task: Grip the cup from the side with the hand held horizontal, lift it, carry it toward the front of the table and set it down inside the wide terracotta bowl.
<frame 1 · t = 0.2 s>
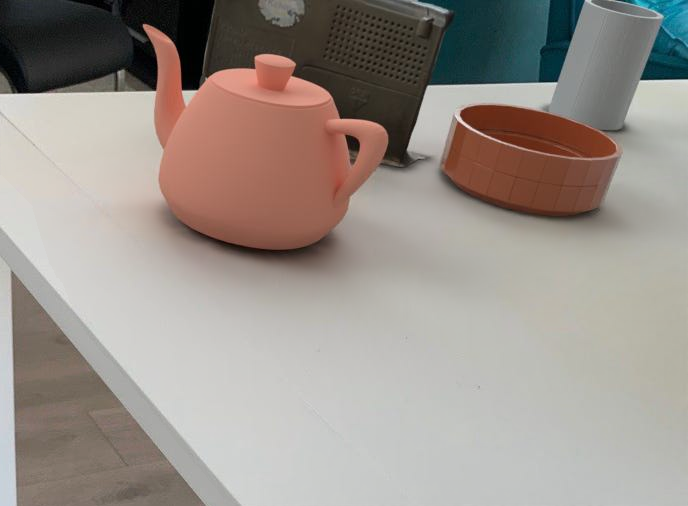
cup: (584, 119, 127), on the table
radio: (305, 139, 104), on the table
teapot: (239, 222, 84), on the table
bowl: (518, 188, 101), on the table
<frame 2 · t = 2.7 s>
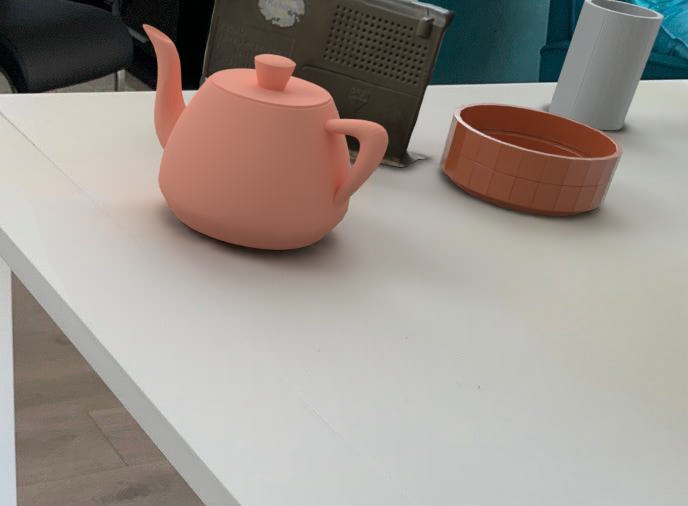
nothing on the table moved.
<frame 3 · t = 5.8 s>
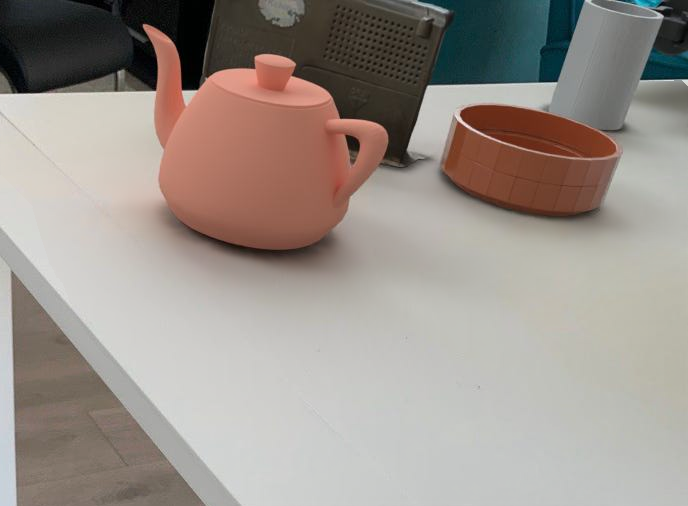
hand: (641, 38, 128), 8 cm above the table, tool horizontal, fingers open, 13 cm apart
nothing on the table moved.
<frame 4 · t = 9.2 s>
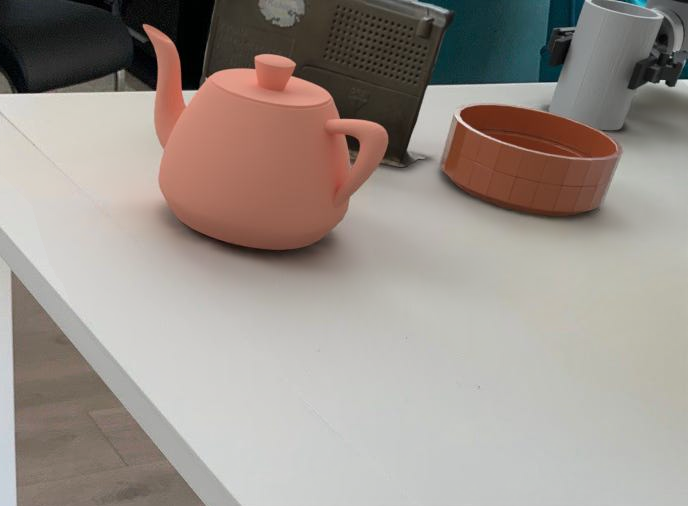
hand: (594, 65, 120), 6 cm above the table, tool horizontal, fingers closed on cup, 9 cm apart
cup: (584, 119, 127), on the table, touching gripper
everything else where it was.
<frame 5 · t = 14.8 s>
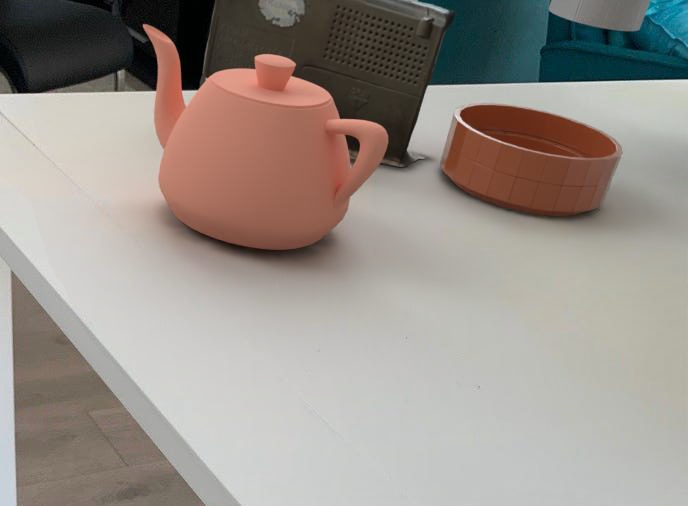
cup: (593, 20, 102), point 13 cm above the table, touching gripper
everything else where it was.
when the fingers open (7 cm above the table, at t = 20.6 s): cup stays where it is, resting on bowl.
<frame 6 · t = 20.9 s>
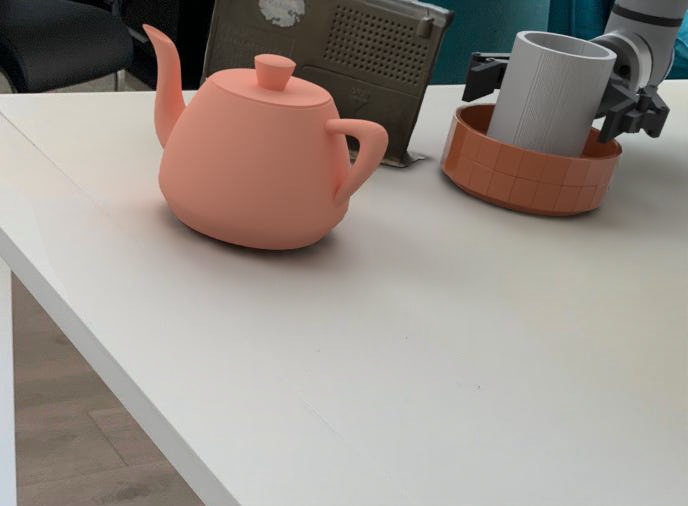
hand: (535, 106, 94), 8 cm above the table, tool horizontal, fingers open, 13 cm apart
cup: (521, 182, 101), point 1 cm above the table, touching bowl
everything else where it was.
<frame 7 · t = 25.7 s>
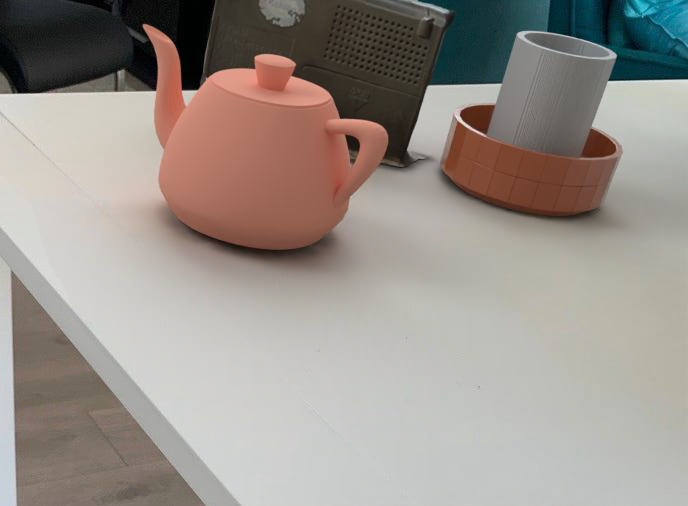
nothing on the table moved.
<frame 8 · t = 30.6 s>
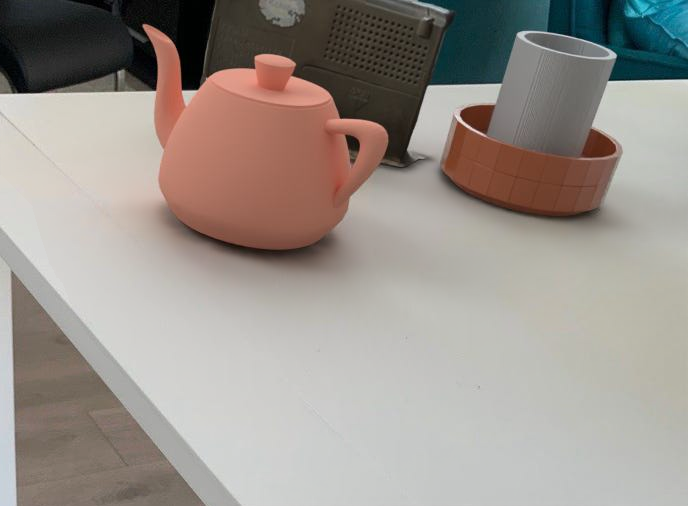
nothing on the table moved.
at the end: cup inside the target area in the bowl (0.0 cm from its centre), point 0.6 cm above the bowl's base; cup tilted 0°; the gripper is holding nothing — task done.
